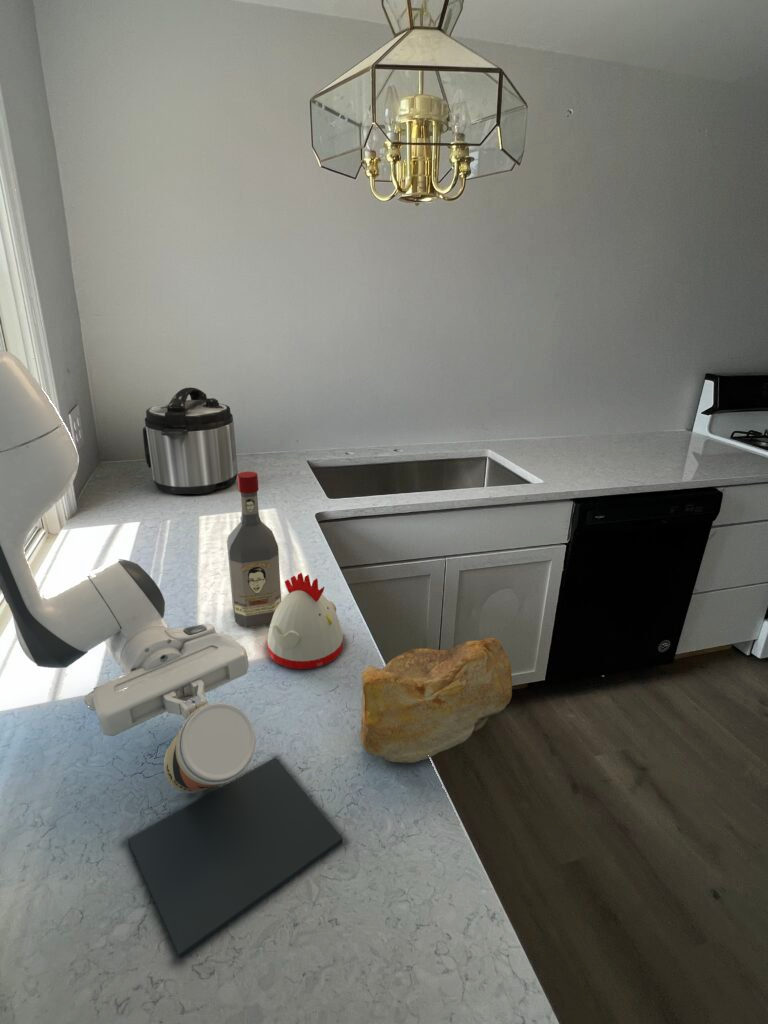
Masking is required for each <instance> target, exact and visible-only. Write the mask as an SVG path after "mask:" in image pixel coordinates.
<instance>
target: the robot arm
mask: <svg viewBox="0 0 768 1024" xmlns="http://www.w3.org/2000/svg"><path fill="white" fill-rule="evenodd" d="M79 463H80V456H79V453H78V450H77V448H76V444H75V443H74V440H73V437H72V436H71V433H70V432H69V429H68V427H67V426H66V424H65V422H64V420H63V418H62V416H61V415H60V413H59V412H58V410H57V408H56V406H55V405H54V404H53V401H52V400H51V399H50V397H49V396H48V394H47V393H46V392H45V390H44V389H43V388H42V386H41V384H40V383H39V382H38V380H37V379H36V378H35V377H34V376H33V374H32V373H31V372H30V370H28V368H27V367H26V365H25V364H24V362H22V361H21V360H20V359H19V358H18V357H17V356H16V355H14V354H12V353H11V352H9V351H7V350H4V349H1V348H0V590H1V593H2V595H3V598H4V600H5V602H6V603H7V606H8V607H9V610H10V612H11V614H12V618H13V624H14V629H15V634H16V638H17V641H18V644H19V646H20V649H21V650H22V652H23V653H24V655H25V656H26V657H27V658H28V659H29V660H30V661H31V662H32V663H34V664H36V666H37V667H39V668H49V669H65V668H67V669H68V667H70V666H71V665H72V664H73V663H75V662H77V661H78V660H79V659H81V658H83V656H85V655H87V654H88V652H89V651H90V650H92V649H94V648H96V647H97V646H99V645H100V644H102V643H103V642H104V644H105V646H106V648H107V650H108V652H109V653H110V656H111V657H112V658H113V660H114V661H115V662H116V664H118V665H119V667H120V669H121V671H122V673H123V674H121V675H119V676H117V677H114V678H112V679H109V680H107V681H104V682H102V683H101V684H99V685H97V686H95V687H93V688H92V691H90V692H89V693H88V694H86V695H85V696H84V701H83V702H84V704H85V706H86V707H87V709H88V710H90V711H94V712H95V713H96V717H97V721H98V724H99V727H100V730H101V733H102V734H103V735H104V736H108V737H114V736H117V735H120V734H121V733H124V732H125V731H127V730H128V731H129V730H130V729H132V728H134V727H136V726H138V725H140V724H142V723H144V722H147V721H149V720H151V719H153V718H156V717H158V716H160V715H162V714H164V713H166V712H167V713H168V714H173V715H178V716H182V717H183V718H184V719H185V720H186V719H187V718H188V717H189V716H190V715H191V714H192V713H193V712H194V711H195V710H197V709H198V708H200V707H202V706H204V705H206V704H209V703H208V699H207V698H206V697H207V693H208V692H211V691H213V690H215V689H217V688H220V687H221V686H224V685H226V684H229V683H230V682H233V681H234V680H237V679H239V678H241V677H244V676H245V675H246V674H248V671H249V668H250V666H249V664H250V663H249V657H248V653H247V650H246V648H244V646H242V645H241V644H240V643H239V642H238V641H236V640H235V639H234V638H232V637H231V636H229V635H227V634H226V633H222V632H217V631H216V628H215V626H214V625H213V624H212V623H203V624H198V625H192V626H186V627H173V628H169V626H168V624H167V623H166V622H165V619H164V616H165V611H166V600H165V598H164V595H163V593H162V591H161V589H160V588H159V586H158V585H157V583H156V582H155V580H153V578H152V577H151V576H150V574H148V573H147V571H146V570H145V569H144V568H142V567H141V566H140V565H139V564H138V563H136V562H133V561H130V560H127V559H123V558H115V559H114V560H111V561H109V562H108V563H105V564H103V565H101V566H100V567H98V568H95V569H94V570H92V571H90V572H88V573H86V575H84V576H82V577H81V578H78V579H77V580H75V581H73V582H71V583H69V584H67V585H66V586H64V587H62V588H60V589H58V590H56V591H54V592H52V593H49V594H45V595H44V594H41V592H40V589H39V586H38V584H37V582H36V580H35V579H36V578H35V577H34V574H33V571H32V569H31V567H30V564H29V561H28V559H27V556H26V554H25V552H26V551H25V544H26V540H27V538H28V536H29V534H30V533H31V531H32V529H33V528H34V527H35V526H36V525H37V524H38V523H39V521H41V519H42V518H43V517H45V515H46V514H47V513H48V512H49V511H50V510H51V509H53V507H54V506H55V505H56V504H58V503H59V501H60V500H61V499H62V498H63V497H64V496H65V495H66V494H67V492H68V491H69V490H70V488H71V486H72V484H73V483H74V481H75V479H76V477H77V474H78V470H79Z"/></svg>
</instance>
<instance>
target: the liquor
mask: <svg viewBox="0 0 768 1024" xmlns="http://www.w3.org/2000/svg"><path fill="white" fill-rule="evenodd" d="M258 475H259V474H258V473H257V472H255V471H242V472H239V473H237V478H236V481H237V491H238V492H239V494H240V495H239V497H240V509H241V511H240V512H241V513H240V514H241V516H240V522H239V523H238V524H237V525H236V526H235V527H234V528H233V530H232V531H231V532H230V534H228V536H227V539H226V548H227V557H228V558H227V559H228V570H229V581H230V592H231V604H232V611H233V617H234V622H235V623H236V624H237V625H239V626H241V627H245V628H247V629H248V628H254V627H255V628H256V627H261V626H266V625H267V626H268V625H270V624H271V621H272V618H273V614H274V612H275V610H276V608H277V607H278V605H279V604H280V602H281V601H282V593H281V592H282V591H281V576H280V575H281V573H280V572H281V571H280V555H279V554H280V553H279V545H278V542H277V540H276V537H275V535H274V533H273V530H272V529H271V528H270V527H268V526H267V525H266V524H265V523H264V522H262V520H261V517H260V513H259V512H260V511H259V498H258V491H259V477H258Z"/></svg>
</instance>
